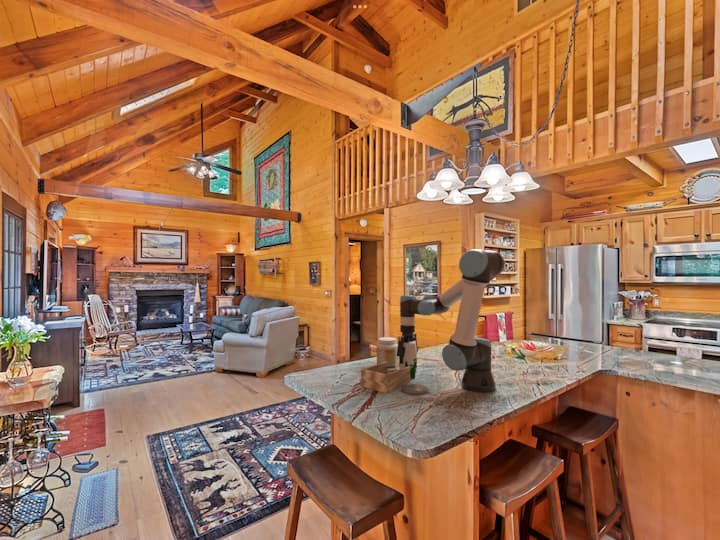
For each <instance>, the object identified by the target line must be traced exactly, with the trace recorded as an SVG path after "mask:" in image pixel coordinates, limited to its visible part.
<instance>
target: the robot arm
mask: <svg viewBox="0 0 720 540" xmlns="http://www.w3.org/2000/svg"><path fill="white" fill-rule="evenodd" d="M458 268H459V270H460V273H461V279H460V280H458V281H457V282H455V283H454V284H453V285H452V286H450V287H448V289H447V290H445V291H444V292H443V293H441V294H440V295H439V296H437V297H436V298H430V299H429V298H428V299H416V298H415V295H413V294H412V295H411V294H405V295H404V294H403V295H401V296H400V298H399V308H400V309H399V311H400V313H399V314H400V316H399V317H400V319H399V321H400V326H399V327H400V331H399V332H400V333H401V336H398V337H397V339H398V340H397V344H398V349H397V356H398V358H399V357H400V368H399V369H402V368H405V357H404V354H405V347H403V343H405V342H406V343H408V342H411V341H412V342H413V341H416V348H417V353H418V352H419V348H418V347H419V346H418V339H417V337H418V336H417V333H415V332H416V331H415V329H416V326H415V324H416V322H415V321H416V319H415V318H416V317H415V315H419V316H432V315H434V314H435V315H436V314H444V313H447V312H448V311H450V308H451V306H453V305H455V303H457V302H459V301H460V304H459V309H458V314H457V319H456V323H455V330H454V334H452V335H451V336H450V337H449V341H448V343H447V344H446V345H445V346H444V347H443V348H442V350H441V351H442V352H441V357H442V360H443V362H444V364H445V366H446V367H447V368H448V369H450V370H452V371H455V372H458V371H464V373H463V376H462V377H461V387H463V389H466V390H468V391H471V392H472V391H473V392H480V393H488V392H489V393H490V392H493V391H495V390H496V385H497V384H496V381H495V378H494V375H493V373H492V342H491V340H489V339H488V338H483V337H476V331H477V327H478V321H479V317H480V313H481V308H482V302H483V299H484V292H485V288H486V286H488V285H489V284H490V282H491V281H492V280H494V279H496V278H497V277H499V275H501V273H502V272H503V271H504V268H505V259H504V257H503V256H502V254H500V253H499V252H498V251H495V250H489V249H488V250H487V249H479V248H478V249H470V250H467V251H465V252H464V253H463V254H462V255H461V256H460V259H459V261H458Z"/></svg>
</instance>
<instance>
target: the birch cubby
mask: <svg viewBox="0 0 720 540" xmlns="http://www.w3.org/2000/svg"><path fill="white" fill-rule="evenodd" d="M408 384H411V378H410V367H409V366H408V367H405V368H402V369H400V368H398V369H396V370H394V371H390V372H388V371H387V362H383V363H380V364H377V363H376V364H374V365H370V366H367V367H364V368H361V369H360V387H363V388H365V389H366V388H367V389H370V390H373V391H377V392H380V393H384V394H388V393H391V392H393V391H395V390H397V389H399V388H400V389H401V387H402V386H404V385H408Z"/></svg>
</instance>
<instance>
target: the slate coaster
mask: <svg viewBox="0 0 720 540" xmlns="http://www.w3.org/2000/svg"><path fill="white" fill-rule="evenodd" d="M428 390H429V389H428V387H427V386H426V385H422V384H414V383H412V384H411V383H409V384H407V385H404V386H402V387H400V391H401V392H402V393H404V394H407V395H411V396H413V395H414V396H419V395H420V396H421V395H425V394H427V393H428V392H429V391H428Z"/></svg>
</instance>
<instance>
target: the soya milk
mask: <svg viewBox="0 0 720 540" xmlns="http://www.w3.org/2000/svg"><path fill="white" fill-rule="evenodd" d="M403 347H405V354H404V357H405V367H408V366H409V367H410V379H415V377H416V372H417V368H418V367H417V366H418V352H417V348H416V341H413V342H412V341H411V342H408V343H406V342H405V343H403ZM398 369H400V357H398Z"/></svg>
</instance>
